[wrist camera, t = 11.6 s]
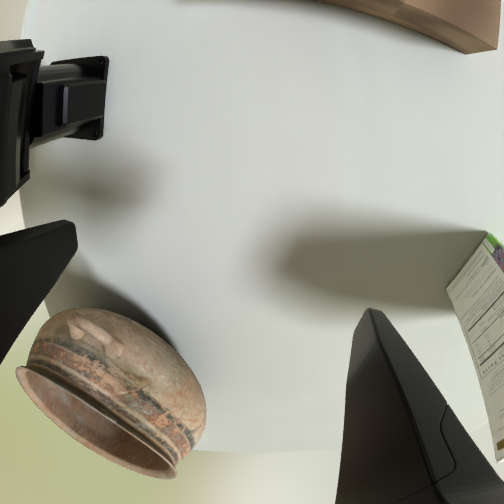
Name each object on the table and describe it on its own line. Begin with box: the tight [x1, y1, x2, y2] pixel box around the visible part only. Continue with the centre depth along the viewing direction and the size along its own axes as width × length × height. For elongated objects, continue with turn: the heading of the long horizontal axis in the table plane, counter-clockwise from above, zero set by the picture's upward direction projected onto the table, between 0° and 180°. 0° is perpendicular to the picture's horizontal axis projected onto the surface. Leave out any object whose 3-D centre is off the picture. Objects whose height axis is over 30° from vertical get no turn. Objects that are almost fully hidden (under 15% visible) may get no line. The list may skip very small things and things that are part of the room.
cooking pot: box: [15, 307, 206, 479], centre depth 26 cm, size 25×19×12 cm
